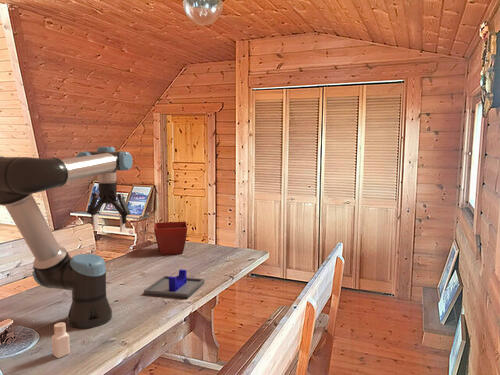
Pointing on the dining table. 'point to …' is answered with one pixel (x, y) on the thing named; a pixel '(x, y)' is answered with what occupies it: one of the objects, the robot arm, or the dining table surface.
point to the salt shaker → (60, 341)
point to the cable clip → (177, 281)
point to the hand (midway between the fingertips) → (109, 230)
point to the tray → (163, 290)
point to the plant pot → (170, 237)
